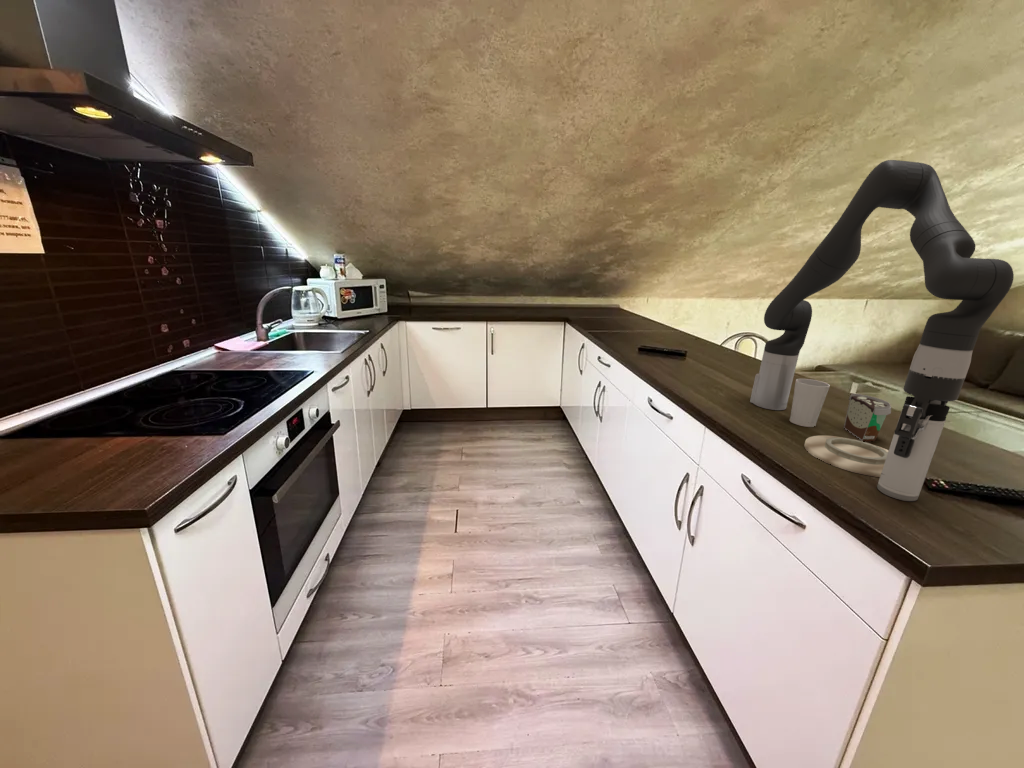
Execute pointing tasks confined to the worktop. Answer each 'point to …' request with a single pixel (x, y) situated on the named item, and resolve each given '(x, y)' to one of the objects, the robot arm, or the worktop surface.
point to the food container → (866, 416)
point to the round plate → (848, 454)
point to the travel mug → (912, 458)
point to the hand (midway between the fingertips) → (909, 451)
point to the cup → (808, 401)
